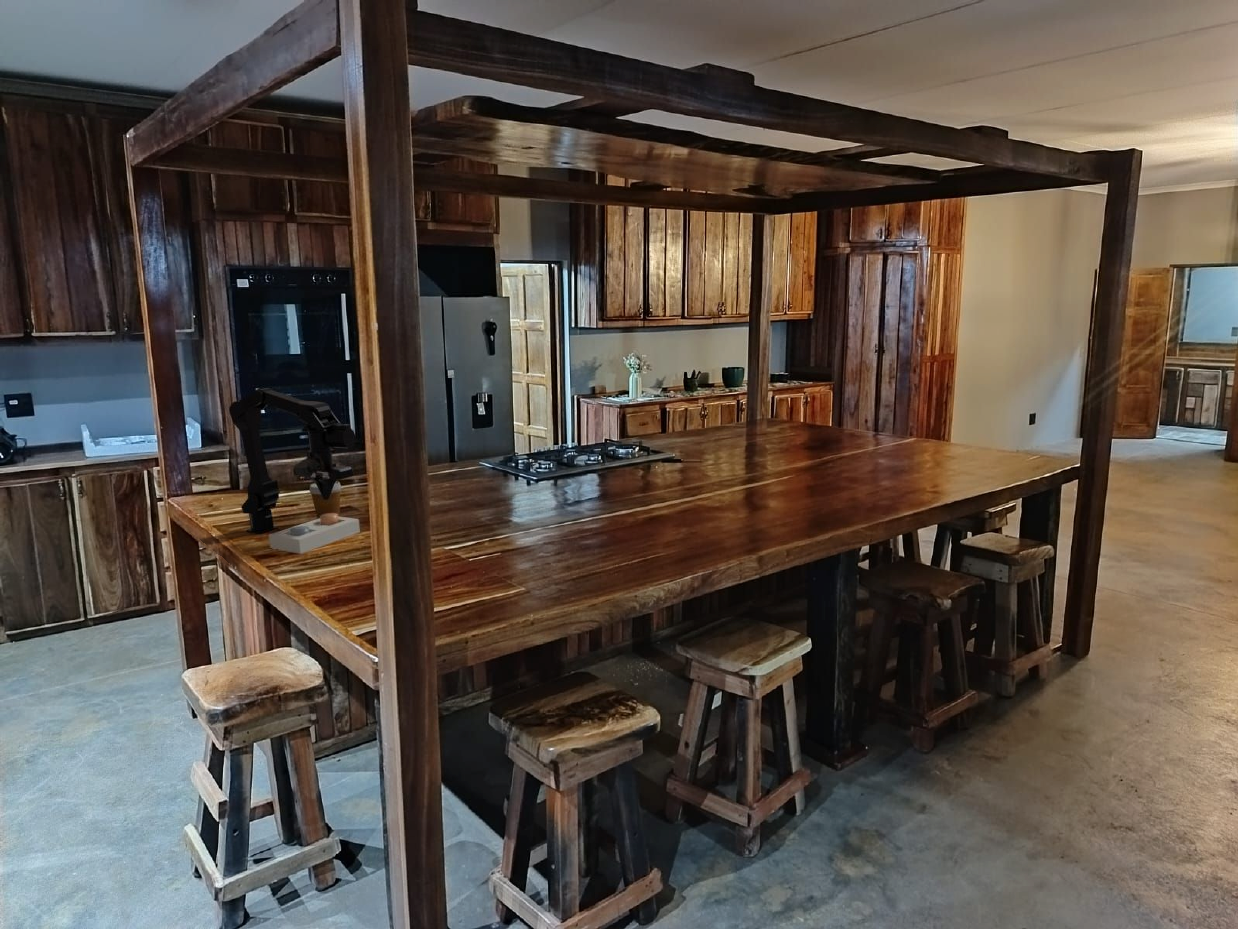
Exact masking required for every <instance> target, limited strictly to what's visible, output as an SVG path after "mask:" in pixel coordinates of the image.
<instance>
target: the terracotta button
mask: <svg viewBox="0 0 1238 929" xmlns="http://www.w3.org/2000/svg"><path fill="white" fill-rule="evenodd" d="M320 521H321V525H326V526H330V525H333V524H336V523H339V520H338V514H337V513H327V514H323V515H321V516H320Z"/></svg>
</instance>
